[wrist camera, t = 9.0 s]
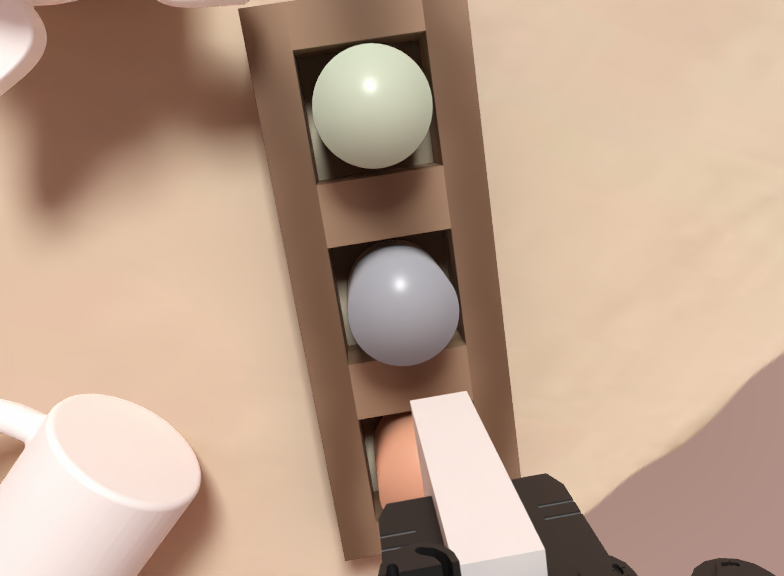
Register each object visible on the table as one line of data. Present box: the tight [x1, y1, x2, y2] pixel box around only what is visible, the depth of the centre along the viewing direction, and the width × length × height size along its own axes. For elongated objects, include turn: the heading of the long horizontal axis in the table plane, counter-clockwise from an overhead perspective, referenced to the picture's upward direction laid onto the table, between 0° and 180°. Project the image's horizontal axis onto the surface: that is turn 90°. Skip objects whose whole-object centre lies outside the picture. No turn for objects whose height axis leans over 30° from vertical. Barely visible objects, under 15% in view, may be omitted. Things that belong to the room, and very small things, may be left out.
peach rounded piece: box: [374, 411, 425, 509], centre depth 34 cm, size 5×5×5 cm
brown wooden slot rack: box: [238, 0, 521, 561], centre depth 33 cm, size 10×28×3 cm, turn 9°
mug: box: [0, 394, 201, 576], centre depth 32 cm, size 12×10×8 cm
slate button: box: [347, 240, 459, 366], centre depth 31 cm, size 5×5×5 cm
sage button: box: [312, 43, 433, 169], centre depth 29 cm, size 5×5×5 cm
